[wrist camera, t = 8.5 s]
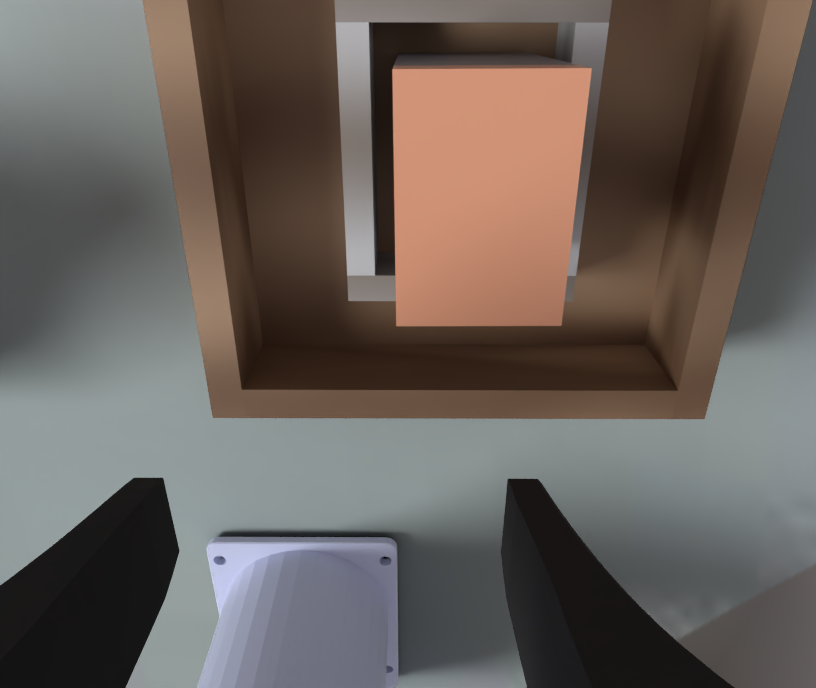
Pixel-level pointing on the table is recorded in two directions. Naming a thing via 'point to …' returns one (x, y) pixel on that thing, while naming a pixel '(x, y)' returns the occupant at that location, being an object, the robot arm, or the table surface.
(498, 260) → the rectangular block
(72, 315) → the table surface
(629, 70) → the walled box
